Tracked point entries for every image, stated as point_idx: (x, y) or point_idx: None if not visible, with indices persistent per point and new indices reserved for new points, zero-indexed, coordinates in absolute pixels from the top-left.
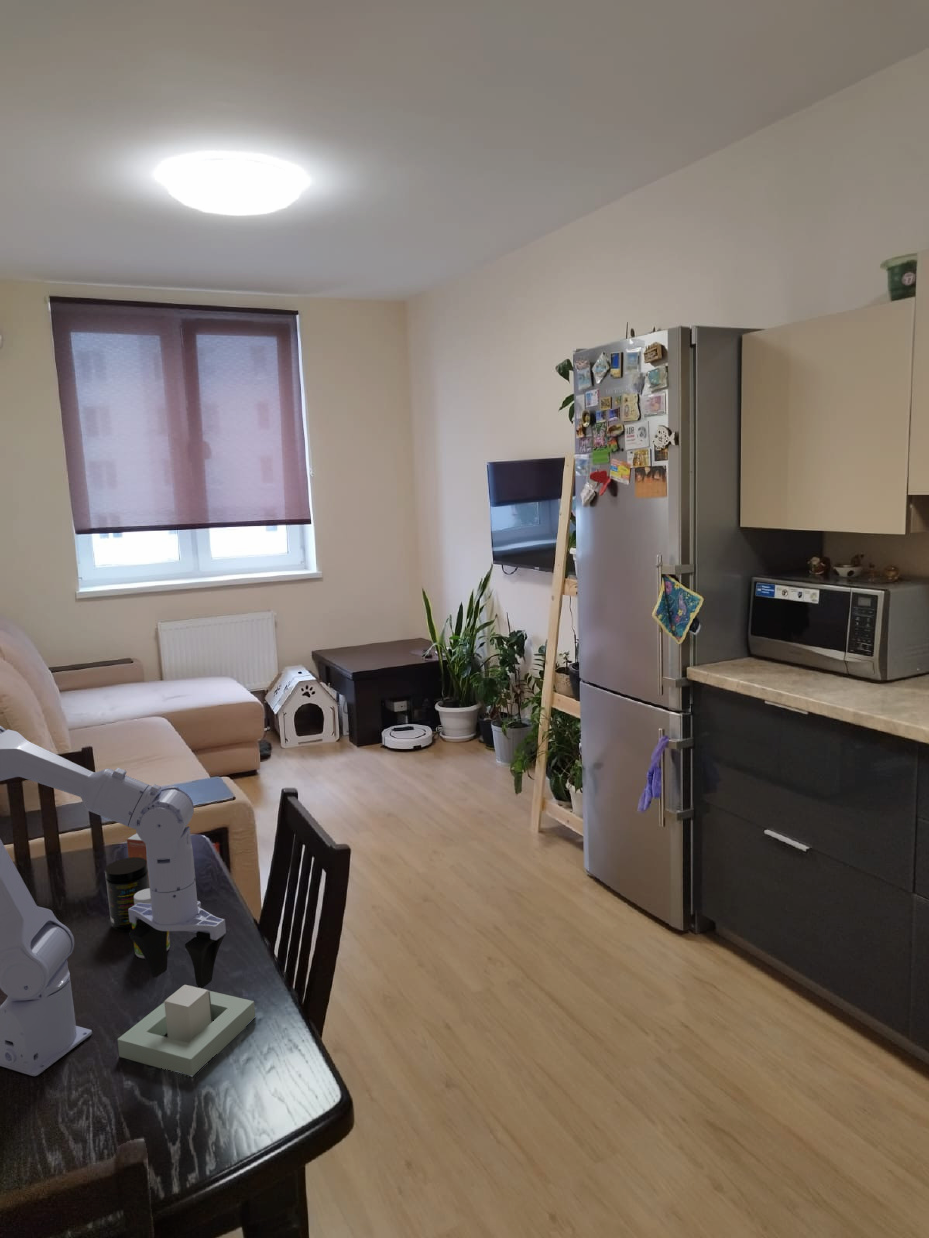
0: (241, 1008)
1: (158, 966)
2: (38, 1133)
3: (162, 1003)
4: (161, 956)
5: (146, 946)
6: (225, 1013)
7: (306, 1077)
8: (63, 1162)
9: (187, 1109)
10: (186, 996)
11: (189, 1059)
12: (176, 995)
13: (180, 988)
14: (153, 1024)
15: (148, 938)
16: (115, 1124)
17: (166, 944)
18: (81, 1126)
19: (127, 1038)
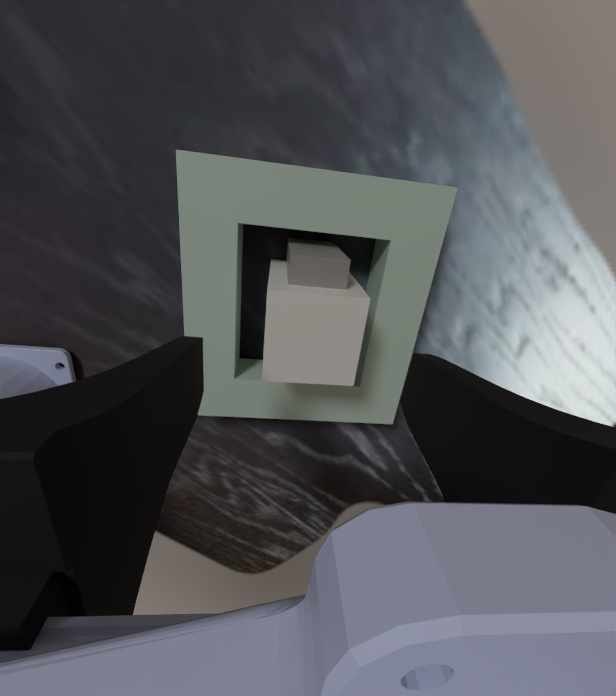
0: (431, 233)
1: (194, 396)
2: (220, 535)
3: (182, 266)
4: (181, 392)
5: (149, 549)
6: (395, 266)
7: (595, 349)
8: (295, 553)
9: (409, 455)
10: (318, 346)
11: (388, 422)
12: (282, 350)
13: (268, 312)
14: (230, 352)
15: (130, 578)
16: (317, 500)
17: (161, 371)
18: (270, 514)
19: (209, 407)
